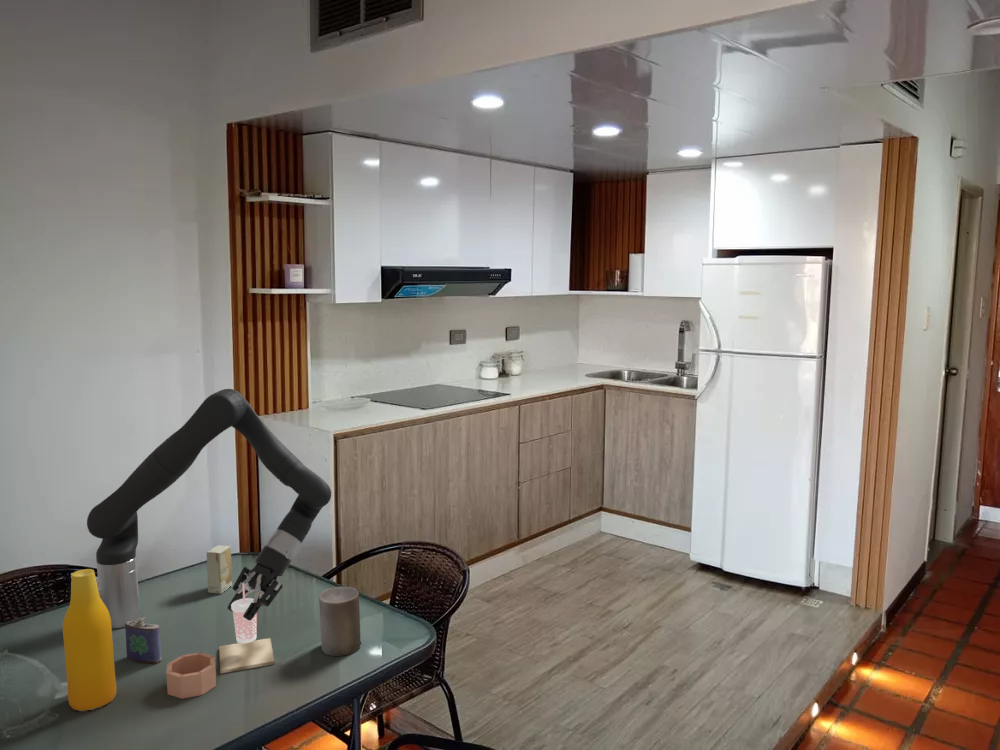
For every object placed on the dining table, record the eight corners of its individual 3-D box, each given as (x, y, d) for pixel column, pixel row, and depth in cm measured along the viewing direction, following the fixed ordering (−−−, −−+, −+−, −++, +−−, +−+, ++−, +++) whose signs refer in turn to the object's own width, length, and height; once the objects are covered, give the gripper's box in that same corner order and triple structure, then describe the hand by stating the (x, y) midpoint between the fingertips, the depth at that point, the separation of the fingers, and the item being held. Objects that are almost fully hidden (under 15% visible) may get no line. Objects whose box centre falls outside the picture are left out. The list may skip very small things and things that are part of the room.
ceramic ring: (167, 701, 168) (165, 679, 167) (169, 678, 177) (167, 657, 176) (216, 692, 171) (215, 671, 170) (215, 670, 180) (214, 649, 180)
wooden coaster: (220, 673, 179) (220, 670, 179) (219, 649, 190) (219, 646, 190) (274, 664, 183) (274, 661, 183) (270, 641, 194) (270, 638, 194)
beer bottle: (66, 716, 162) (55, 584, 158) (71, 694, 170) (60, 568, 166) (115, 706, 166) (106, 577, 161) (117, 685, 174) (108, 561, 170)
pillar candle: (368, 642, 194) (366, 585, 192) (345, 660, 185) (343, 600, 183) (336, 634, 198) (334, 578, 196) (312, 651, 189) (309, 593, 187)
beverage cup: (244, 647, 182) (241, 591, 180) (227, 640, 185) (224, 585, 183) (265, 636, 187) (262, 581, 185) (248, 630, 190) (244, 576, 188)
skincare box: (221, 594, 221) (219, 553, 219) (207, 593, 222) (205, 552, 220) (233, 585, 227) (231, 545, 225) (220, 584, 228) (217, 544, 226)
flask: (164, 659, 185) (161, 617, 183) (155, 665, 182) (152, 623, 181) (131, 654, 188) (128, 612, 186) (123, 660, 185) (119, 618, 183)
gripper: (251, 538, 193) (211, 599, 186) (286, 552, 184) (245, 617, 177) (271, 552, 198) (232, 612, 191) (306, 566, 189) (266, 630, 182)
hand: (238, 614), depth 184 cm, fingers closed on beverage cup, 6 cm apart
